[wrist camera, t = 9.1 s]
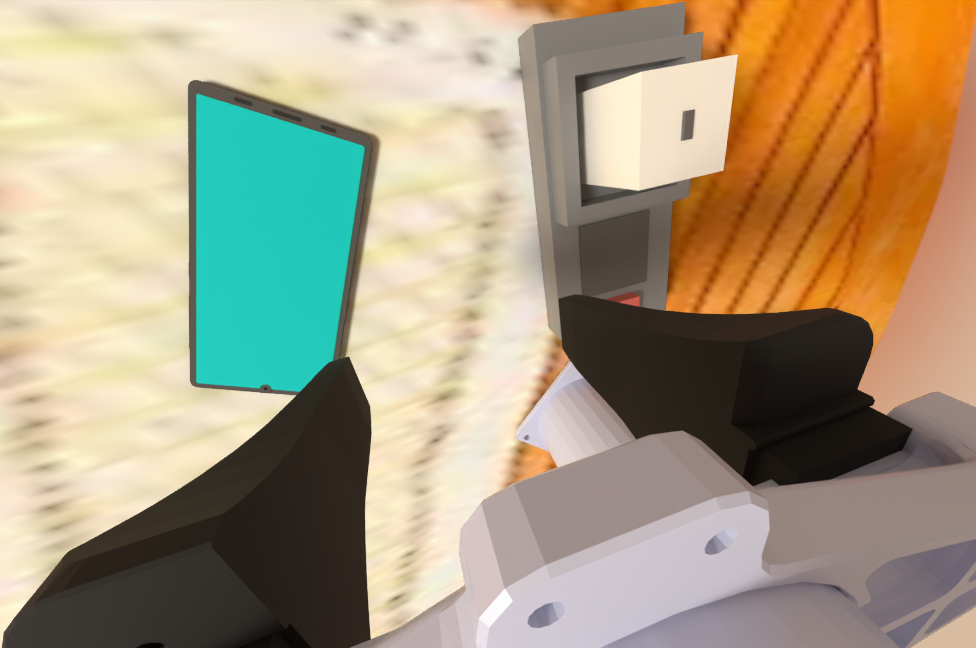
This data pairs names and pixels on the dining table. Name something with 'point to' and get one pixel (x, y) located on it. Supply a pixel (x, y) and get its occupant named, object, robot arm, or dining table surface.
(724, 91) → the block
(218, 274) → the smartphone
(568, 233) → the power strip
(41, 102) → the dining table surface
